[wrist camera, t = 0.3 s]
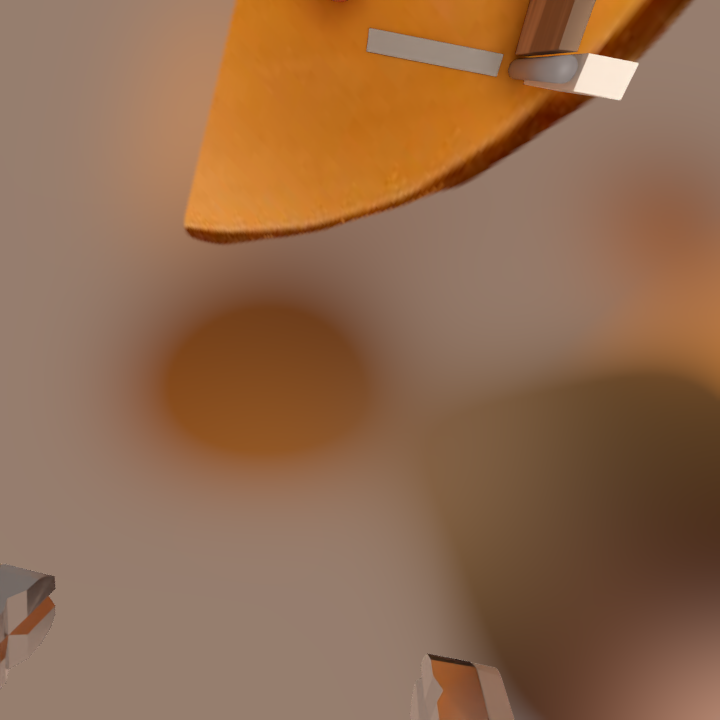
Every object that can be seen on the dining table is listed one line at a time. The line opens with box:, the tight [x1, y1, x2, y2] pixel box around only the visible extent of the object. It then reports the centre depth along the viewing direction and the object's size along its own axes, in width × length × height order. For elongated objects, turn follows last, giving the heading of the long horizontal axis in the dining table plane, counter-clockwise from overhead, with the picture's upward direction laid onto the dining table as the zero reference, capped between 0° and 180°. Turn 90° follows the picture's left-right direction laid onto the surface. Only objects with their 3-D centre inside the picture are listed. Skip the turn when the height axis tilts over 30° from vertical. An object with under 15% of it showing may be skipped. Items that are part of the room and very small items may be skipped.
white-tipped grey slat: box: [367, 28, 639, 100], centre depth 35 cm, size 2×22×16 cm, turn 82°
